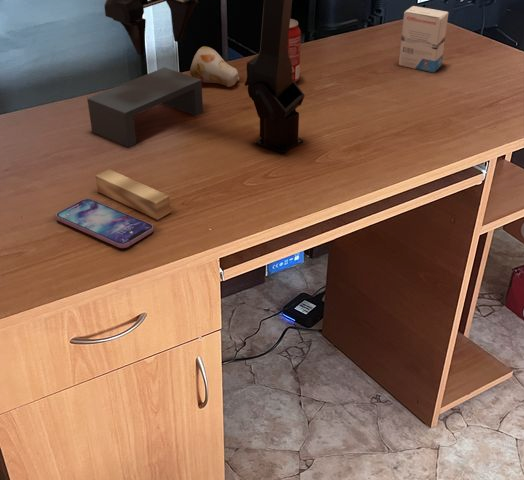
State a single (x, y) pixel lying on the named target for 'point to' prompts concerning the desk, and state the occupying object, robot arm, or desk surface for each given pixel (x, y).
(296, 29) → the soda can
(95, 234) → the smartphone
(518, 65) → the desk surface
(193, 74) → the cream rounded tapered piece
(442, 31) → the ink box
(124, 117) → the small grey bench
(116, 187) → the stick
